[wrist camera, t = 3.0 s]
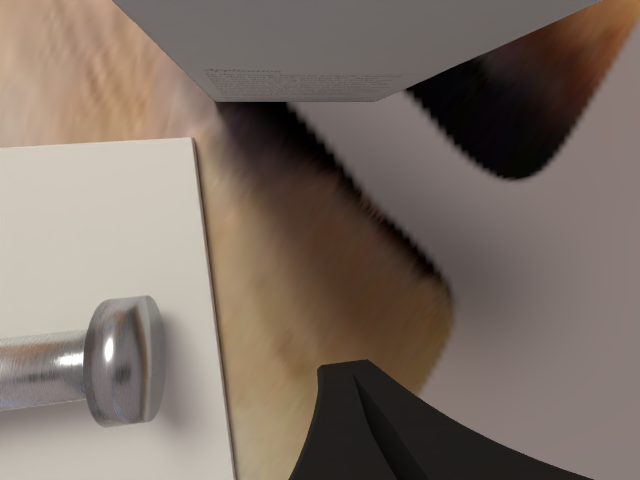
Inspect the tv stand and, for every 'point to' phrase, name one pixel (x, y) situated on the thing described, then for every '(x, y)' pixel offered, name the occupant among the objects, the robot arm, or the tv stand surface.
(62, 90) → the tv stand surface
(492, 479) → the robot arm
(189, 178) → the board
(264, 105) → the tv stand surface
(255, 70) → the small box
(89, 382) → the pin
